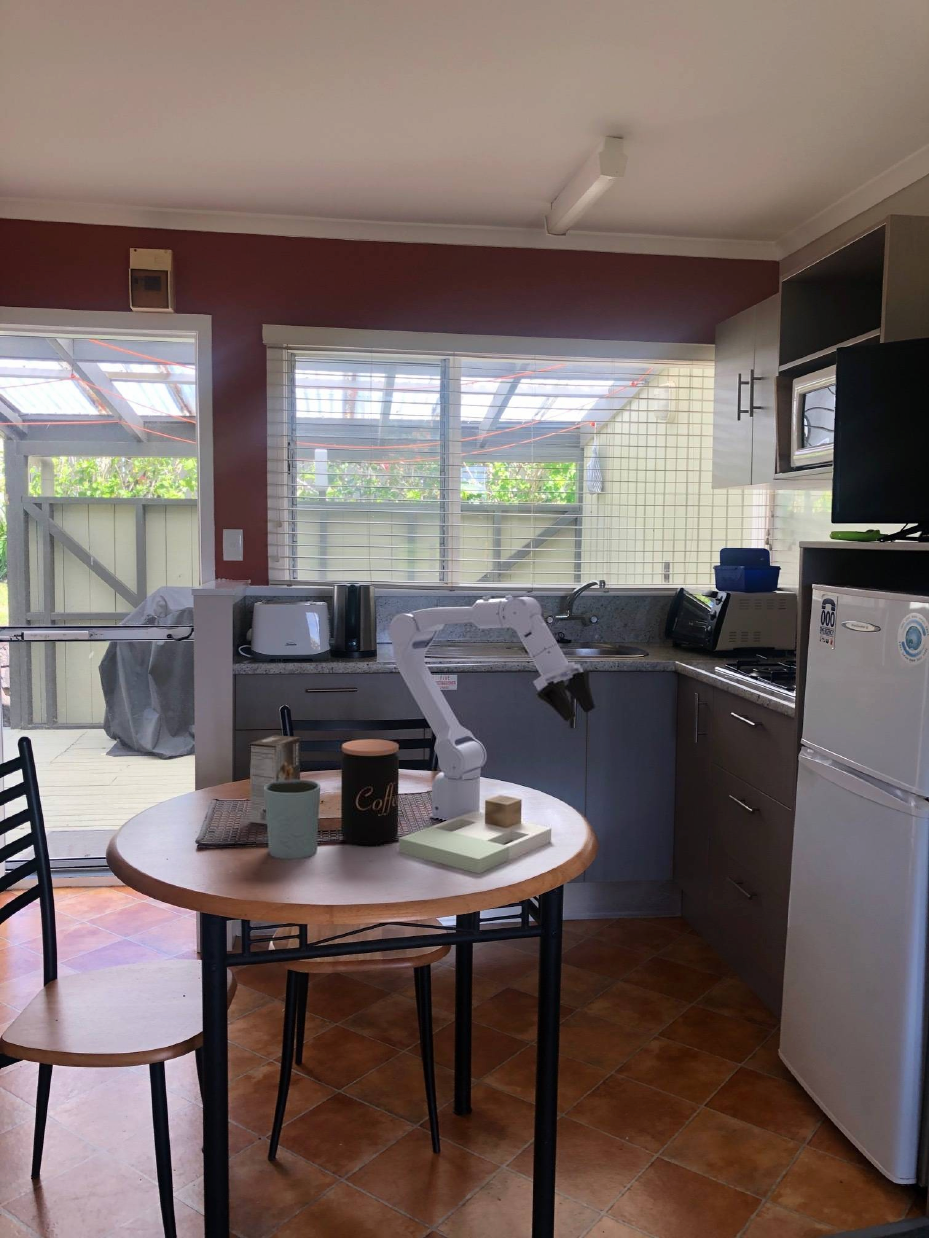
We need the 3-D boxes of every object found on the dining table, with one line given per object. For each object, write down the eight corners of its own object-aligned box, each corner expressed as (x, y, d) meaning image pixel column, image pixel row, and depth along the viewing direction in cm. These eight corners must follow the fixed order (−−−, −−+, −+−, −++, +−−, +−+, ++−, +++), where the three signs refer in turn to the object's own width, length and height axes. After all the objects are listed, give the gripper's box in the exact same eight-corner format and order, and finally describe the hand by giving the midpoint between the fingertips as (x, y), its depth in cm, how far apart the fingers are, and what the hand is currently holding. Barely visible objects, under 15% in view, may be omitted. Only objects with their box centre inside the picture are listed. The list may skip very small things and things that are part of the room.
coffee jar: (353, 851, 169) (353, 753, 168) (333, 835, 178) (333, 741, 177) (407, 843, 174) (408, 748, 173) (385, 828, 183) (385, 737, 182)
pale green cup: (302, 863, 162) (302, 795, 161) (252, 855, 166) (252, 789, 165) (330, 846, 172) (330, 781, 171) (282, 839, 175) (282, 776, 174)
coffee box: (274, 810, 194) (274, 734, 193) (301, 813, 192) (301, 736, 191) (249, 822, 186) (249, 742, 185) (277, 826, 184) (277, 745, 182)
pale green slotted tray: (398, 851, 169) (398, 838, 169) (474, 823, 187) (474, 810, 187) (478, 873, 158) (479, 859, 158) (551, 841, 177) (551, 828, 176)
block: (484, 823, 179) (485, 800, 179) (499, 817, 183) (500, 794, 183) (506, 828, 176) (506, 804, 176) (521, 822, 180) (521, 799, 180)
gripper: (539, 647, 171) (577, 712, 168) (578, 636, 183) (614, 697, 180) (513, 666, 175) (549, 730, 172) (553, 654, 187) (587, 713, 184)
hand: (580, 714), depth 176 cm, fingers open, 7 cm apart
